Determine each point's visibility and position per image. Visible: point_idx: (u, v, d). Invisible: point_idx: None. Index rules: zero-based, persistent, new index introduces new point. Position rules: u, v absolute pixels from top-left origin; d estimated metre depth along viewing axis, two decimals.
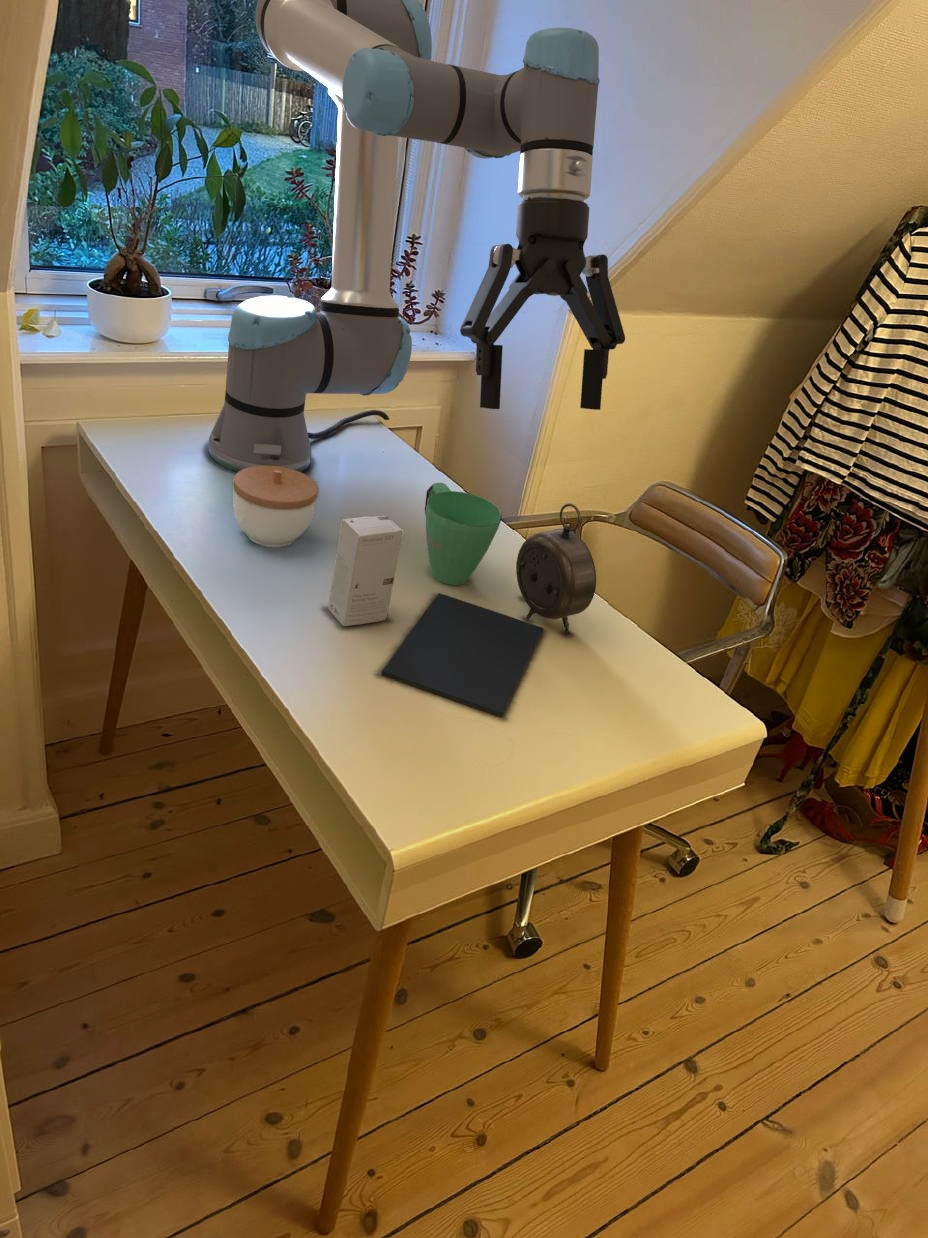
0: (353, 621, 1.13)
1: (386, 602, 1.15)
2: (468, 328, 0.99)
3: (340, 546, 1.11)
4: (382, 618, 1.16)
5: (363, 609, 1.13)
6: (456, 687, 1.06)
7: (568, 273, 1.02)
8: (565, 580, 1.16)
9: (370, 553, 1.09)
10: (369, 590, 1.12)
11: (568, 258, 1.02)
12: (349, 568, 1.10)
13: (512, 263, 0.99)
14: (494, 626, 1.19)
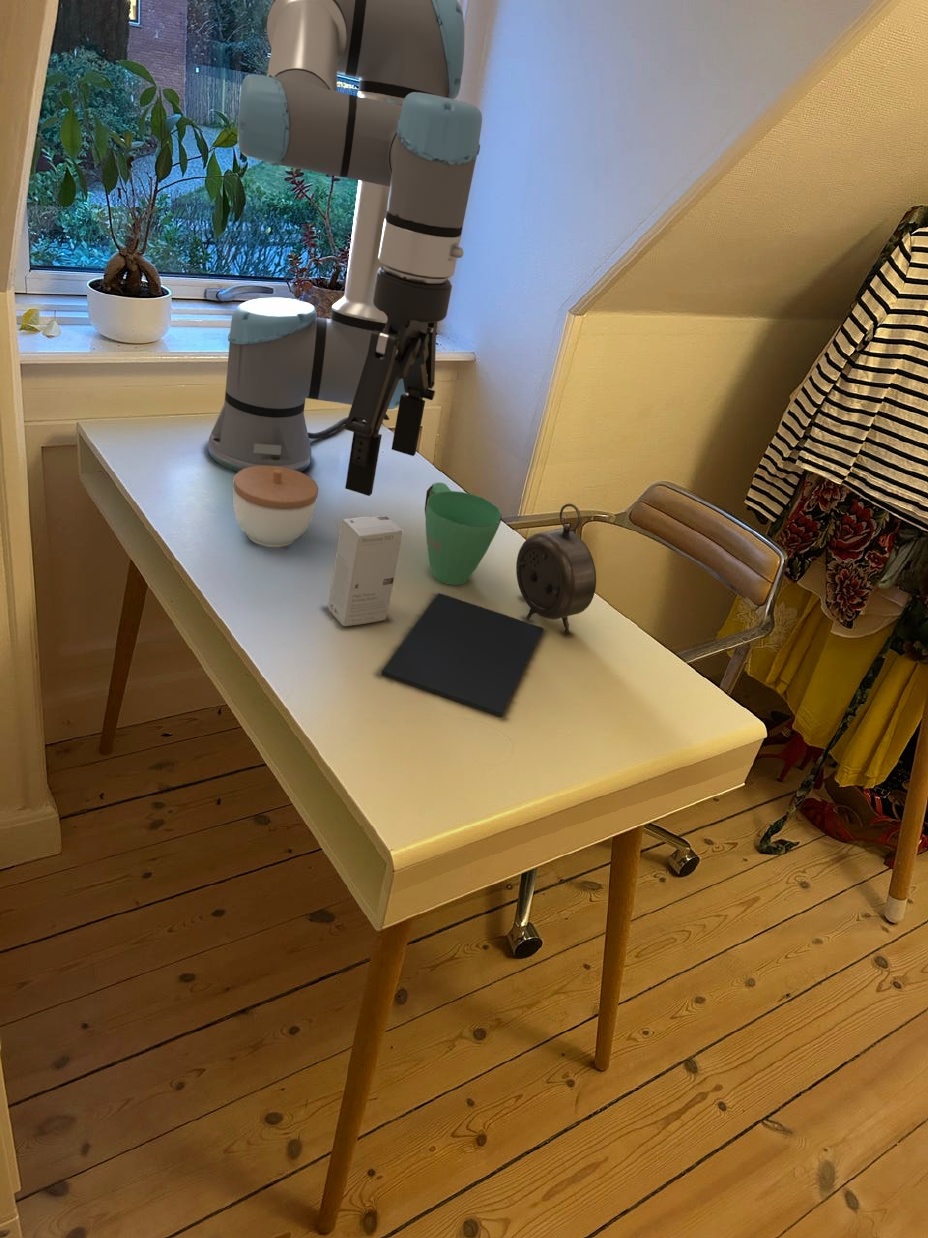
0: (353, 621, 1.13)
1: (386, 602, 1.15)
2: (361, 428, 0.93)
3: (340, 546, 1.11)
4: (382, 618, 1.16)
5: (363, 609, 1.13)
6: (456, 687, 1.06)
7: (424, 346, 1.00)
8: (565, 580, 1.16)
9: (370, 553, 1.09)
10: (369, 590, 1.12)
11: (421, 328, 0.99)
12: (349, 568, 1.10)
13: (396, 354, 0.94)
14: (494, 626, 1.19)
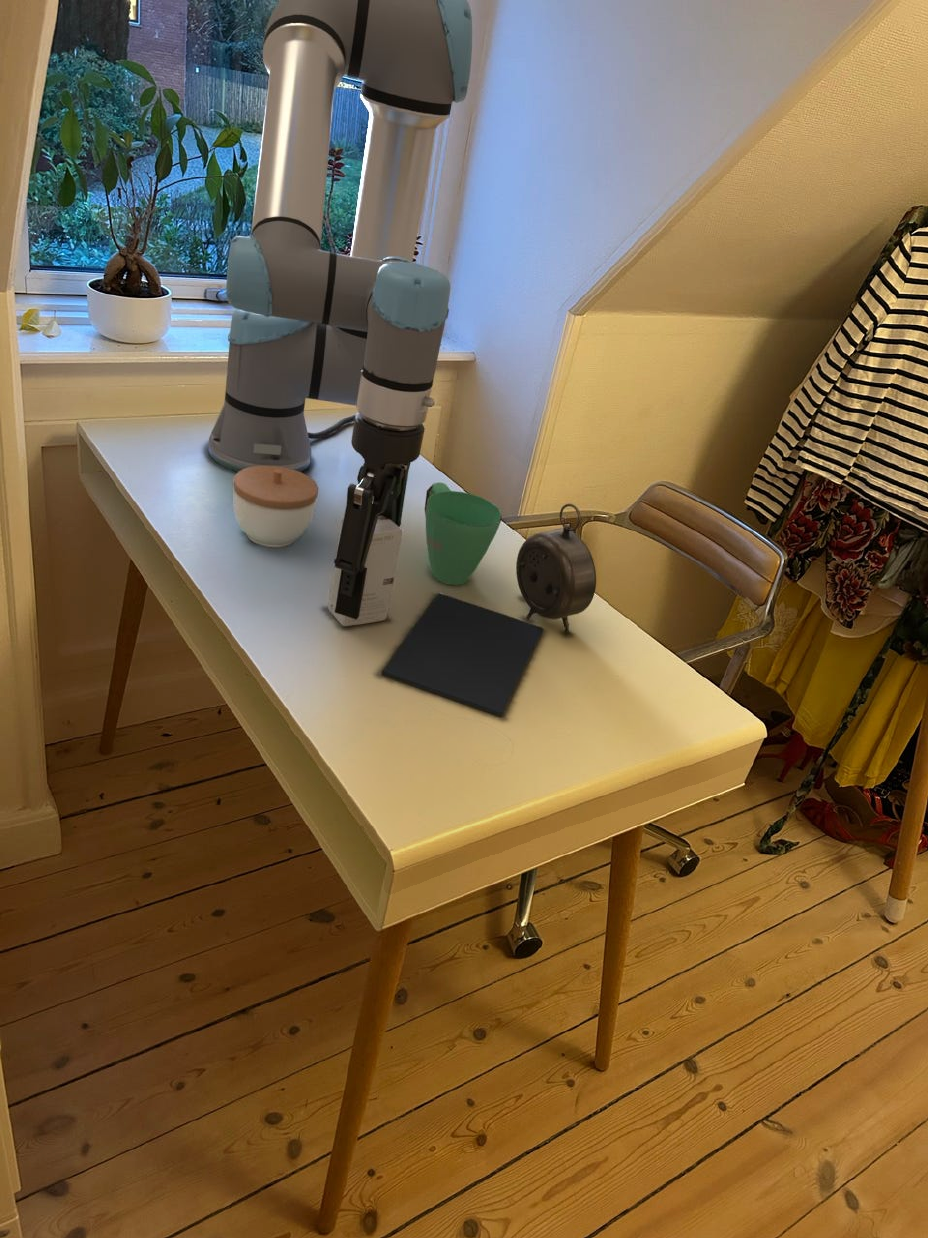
0: (353, 621, 1.13)
1: (386, 602, 1.15)
2: (347, 568, 1.05)
3: None
4: (382, 618, 1.16)
5: (363, 609, 1.13)
6: (456, 687, 1.06)
7: (398, 480, 1.07)
8: (565, 580, 1.16)
9: (370, 553, 1.09)
10: (369, 590, 1.12)
11: (396, 464, 1.07)
12: None
13: (372, 500, 1.02)
14: (494, 626, 1.19)
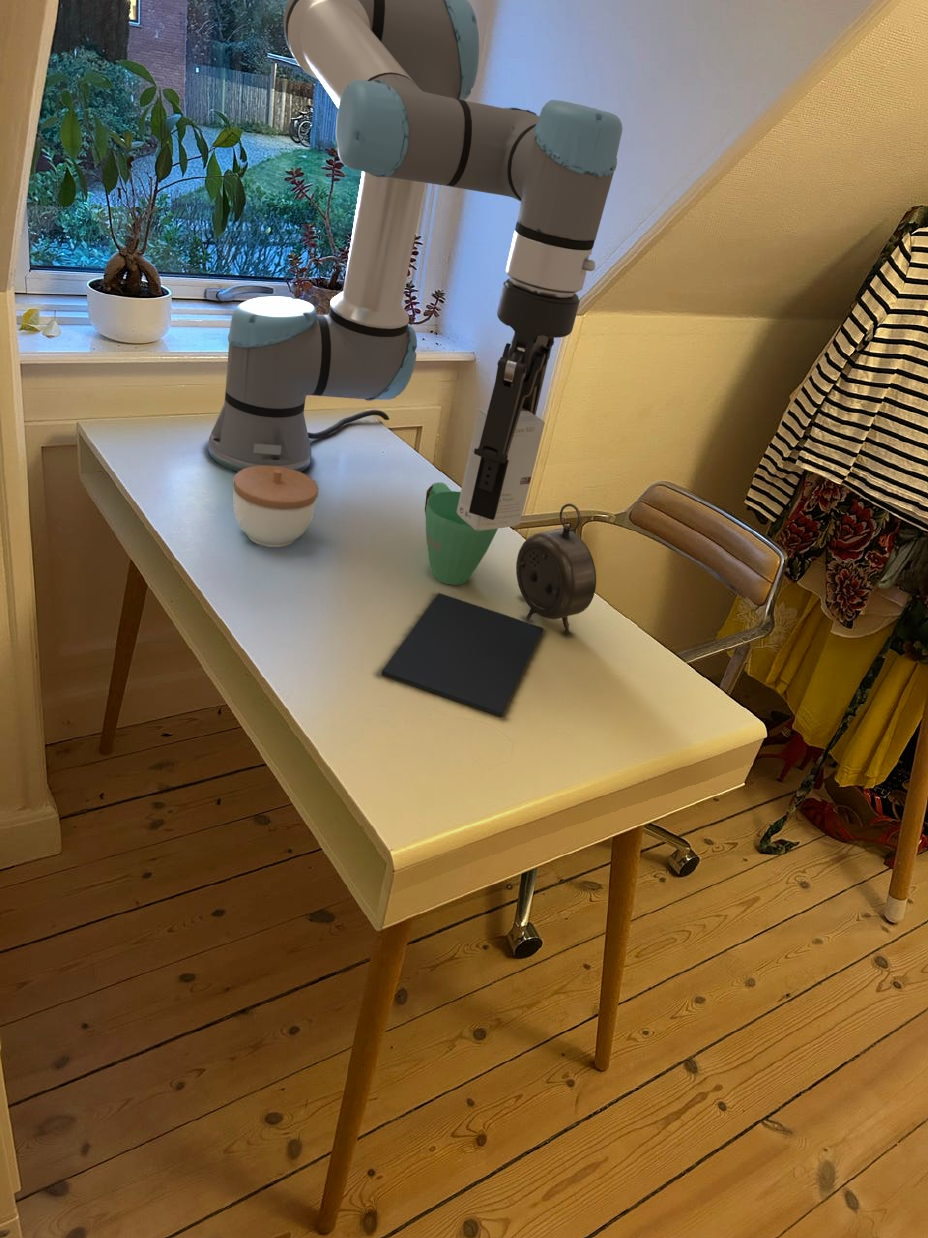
0: (487, 525, 1.02)
1: (521, 505, 1.04)
2: (492, 456, 0.94)
3: (475, 440, 1.00)
4: (516, 523, 1.05)
5: (498, 511, 1.02)
6: (456, 687, 1.06)
7: (545, 361, 0.96)
8: (565, 580, 1.16)
9: (510, 446, 0.98)
10: (505, 489, 1.01)
11: (543, 343, 0.96)
12: None
13: (524, 377, 0.92)
14: (494, 626, 1.19)
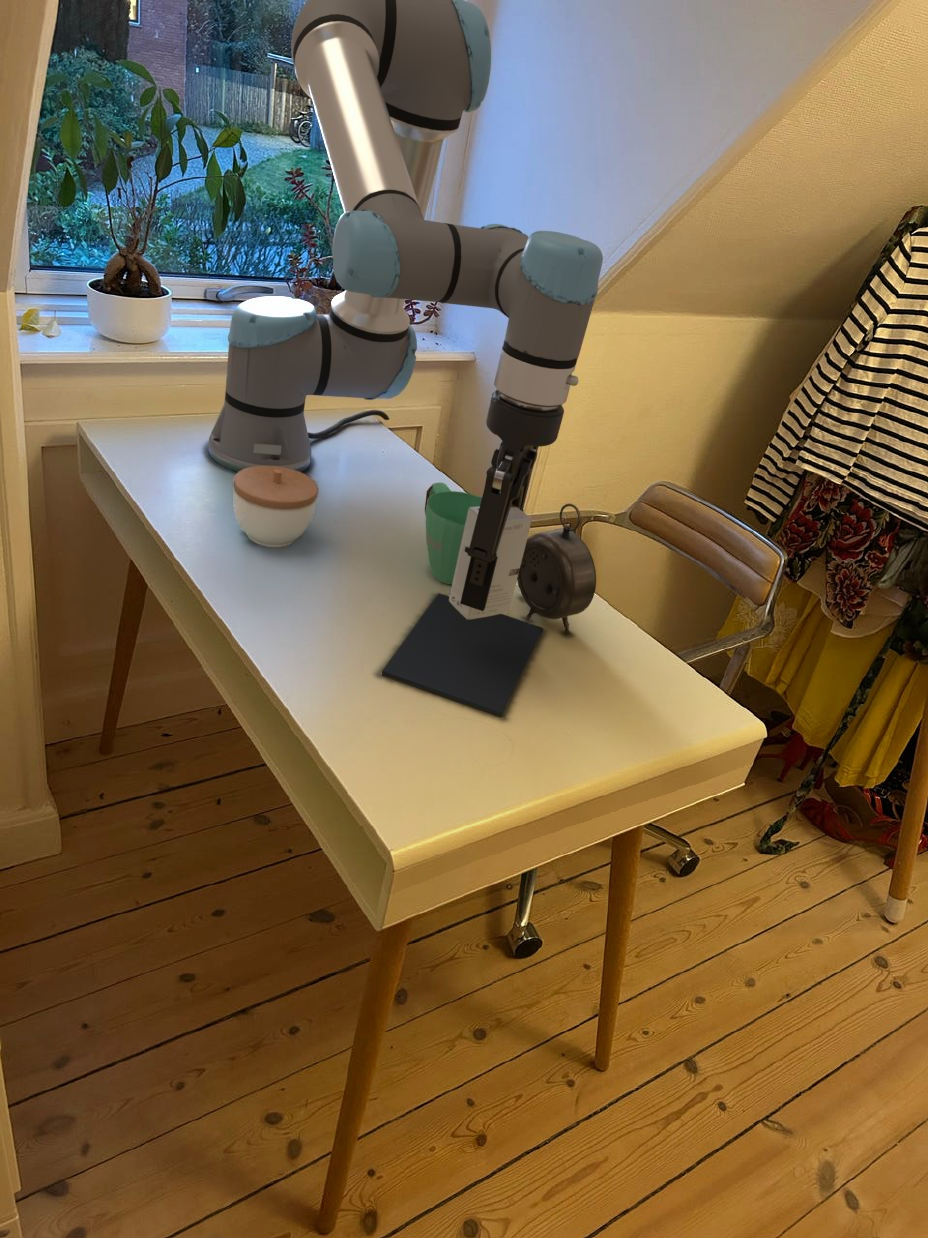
0: (477, 614, 1.08)
1: (510, 594, 1.09)
2: (482, 556, 0.99)
3: (466, 536, 1.05)
4: (505, 610, 1.10)
5: (488, 601, 1.08)
6: (456, 687, 1.06)
7: (532, 464, 1.02)
8: (565, 580, 1.16)
9: (499, 543, 1.04)
10: (495, 581, 1.07)
11: (530, 447, 1.02)
12: None
13: (511, 485, 0.97)
14: (494, 626, 1.19)
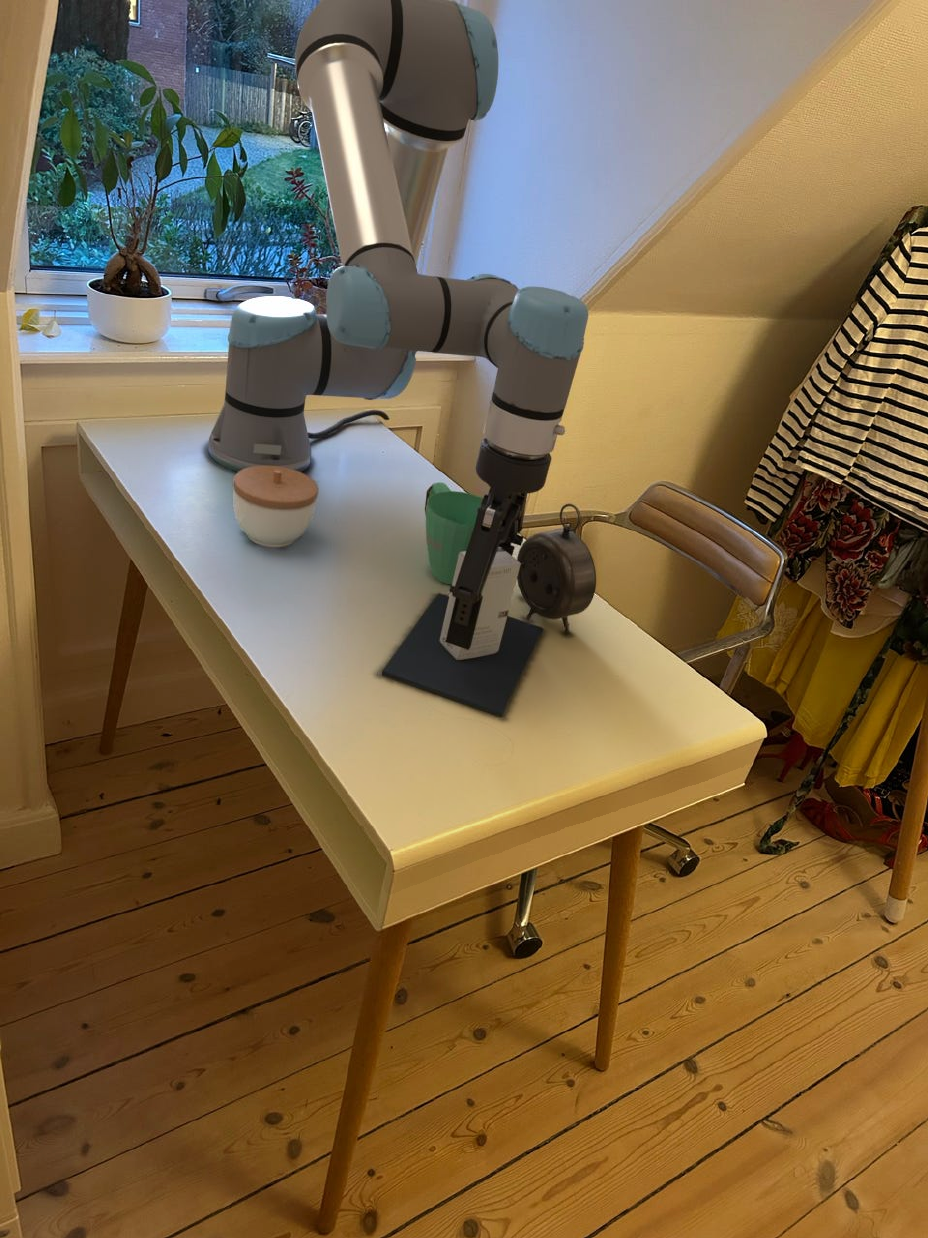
0: (467, 655, 1.11)
1: (499, 635, 1.12)
2: (467, 596, 0.99)
3: (456, 579, 1.08)
4: (494, 651, 1.13)
5: (477, 642, 1.11)
6: (456, 687, 1.06)
7: (521, 508, 1.05)
8: (565, 580, 1.16)
9: (488, 586, 1.07)
10: (484, 623, 1.10)
11: None
12: None
13: (500, 525, 0.99)
14: None
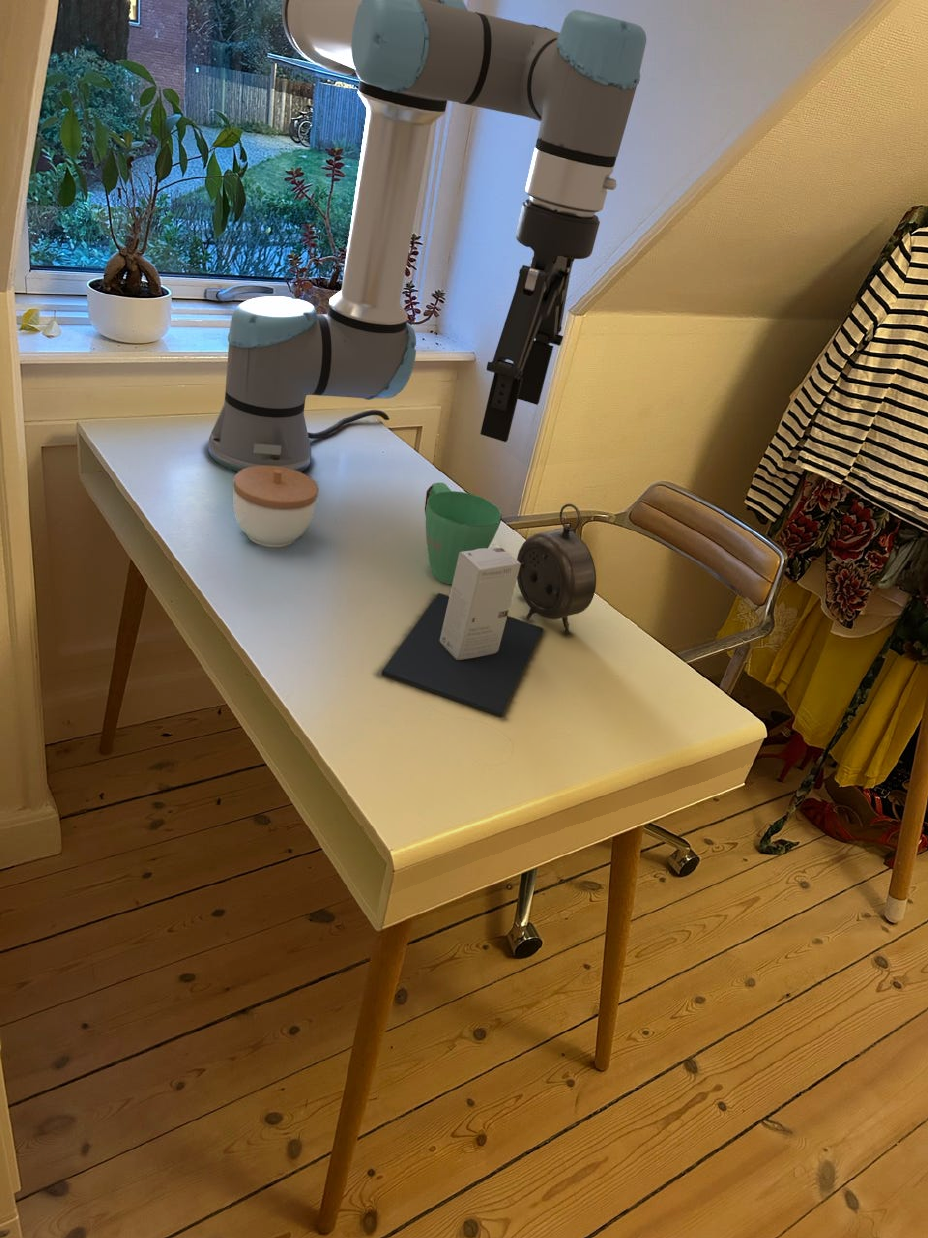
0: (467, 655, 1.11)
1: (499, 635, 1.12)
2: (507, 368, 0.89)
3: (456, 579, 1.08)
4: (494, 651, 1.13)
5: (477, 642, 1.11)
6: (456, 687, 1.06)
7: (564, 286, 0.95)
8: (565, 580, 1.16)
9: (488, 586, 1.07)
10: (484, 623, 1.10)
11: (562, 267, 0.95)
12: (466, 601, 1.07)
13: (544, 291, 0.90)
14: None
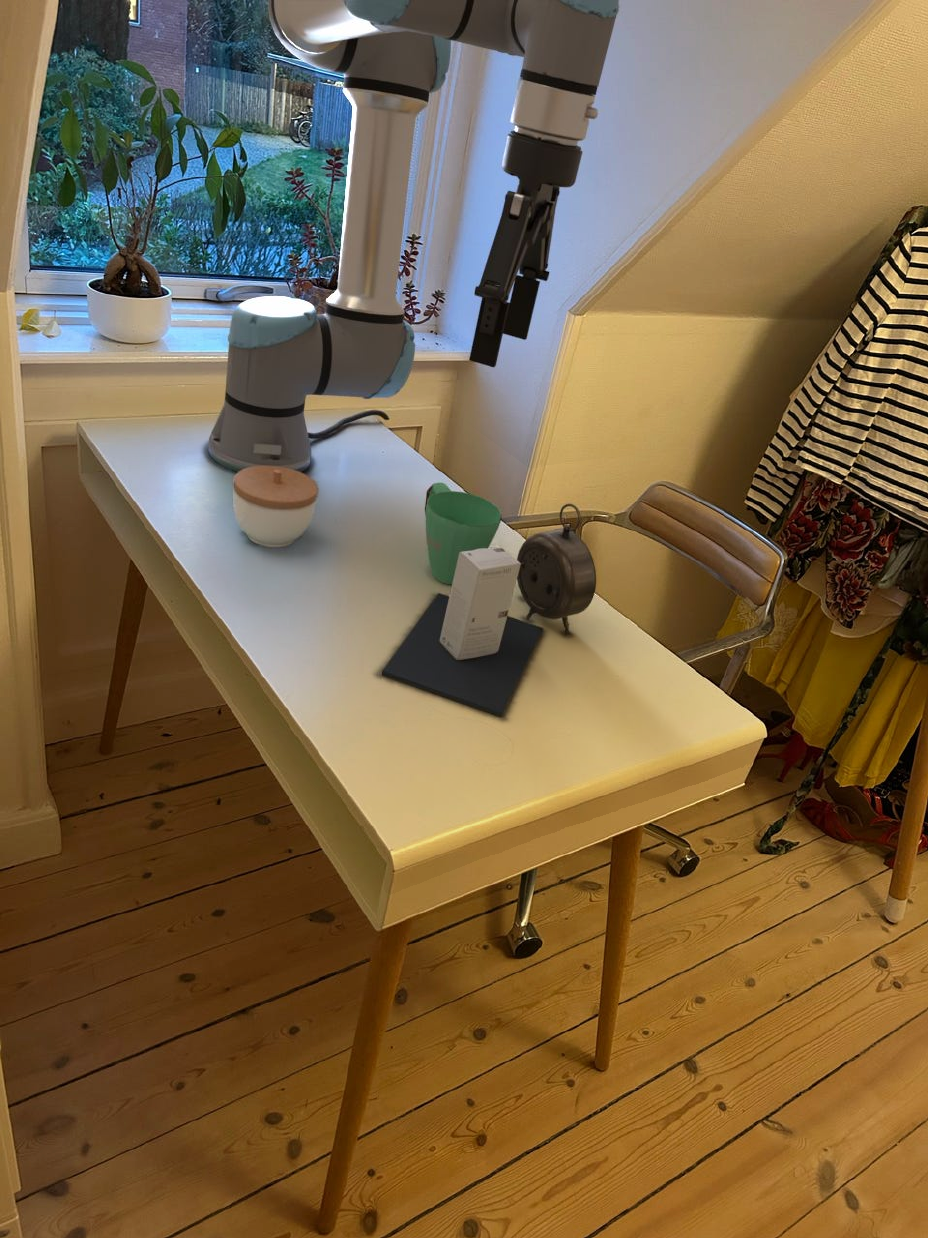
0: (467, 655, 1.11)
1: (499, 635, 1.12)
2: (494, 290, 0.93)
3: (456, 579, 1.08)
4: (494, 651, 1.13)
5: (477, 642, 1.11)
6: (456, 687, 1.06)
7: (549, 216, 0.99)
8: (565, 580, 1.16)
9: (488, 586, 1.07)
10: (484, 623, 1.10)
11: (547, 198, 0.99)
12: (466, 601, 1.07)
13: (529, 216, 0.93)
14: None
